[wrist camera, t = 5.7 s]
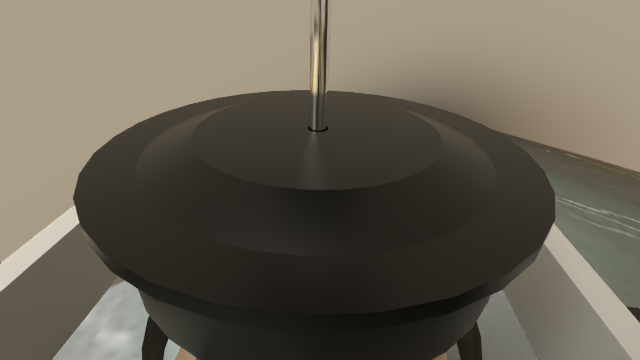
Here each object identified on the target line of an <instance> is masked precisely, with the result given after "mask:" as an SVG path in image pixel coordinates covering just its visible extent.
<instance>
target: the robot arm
mask: <svg viewBox="0 0 640 360" xmlns="http://www.w3.org/2000/svg"><path fill="white" fill-rule="evenodd" d="M117 277H118V276H117V275H116V274H114V273H113V272H111V271H110V270H109V269H108V267H107V266H106V265H105V264H104V263H103V261H102V260H101V259H100V258H99V256H98V255H97V254H96V253H95V251H94V250H93V249H92V248H91V247H90V245H89V244H88V243H87V242H86V240H85V237H84V235H83V232H82V229H81V227H80V223H79V220H78V216H77V212H76V208H75V205H74V206H73V207H71V208H70V209H69V210H67V211H66V212H65V213H64V214H62V215H61V216H60V217H59V218H57V219H56V220H55V221H53V222H52V223H51V224H50V225H48V226H47V227H46V228H45V229H43V230H42V231H41V232H40V233H38V234H37V235H36V236H34V237H33V238H32V239H31V240H29V241H28V242H27V243H26V244H24V245H23V246H22V247H20V248H19V249H18V250H17V251H15V252H14V253H13V254H12V255H10V256H9V257H8V258H7V259H5V260H4V261H3V262H0V360H52V359H53V357H54V356H55V355H56V354H57V352H58V351H59V350H60V349H61V347H62V346H63V345H64V344H65V342H66V341H67V340H68V339H69V337H70V336H71V335H72V334H73V332H74V331H75V330H76V329H77V327H78V326H79V325H80V324H81V322H82V321H83V320H84V319H85V317H86V316H87V315H88V314H89V312H90V311H91V310H92V309H93V307H94V306H95V305H96V304H97V302H98V301H99V300H100V299H101V297H102V296H103V295H104V294H105V292H106V291H107V290H108V289H109V287H110V286H111V285H112V283H113V282H114V281H115V280H116V279H117ZM503 290H504V292H505V294H506V296H507V298H508V300H509V302H510V304H511V306H512V308H513V310H514V312H515V314H516V316H517V318H518V320H519V322H520V324H521V326H522V328H523V330H524V332H525V334H526V336H527V338H528V339H529V341H530V343H531V345H532V347H533V349H534V351H535V353H536V355H537V357H538V359H539V360H640V309H639V308H632V307H626V306H625V305H624V304H623V303H622V302H621V301H620V300H619V298H618V297H617V296H616V295H615V294H614V293H613V291H612V290H611V289H610V288H609V287H608V286H607V285H606V283H605V282H604V281H603V280H602V279H601V278H600V276H599V275H598V274H597V273H596V272H595V271H594V270H593V268H592V267H591V266H590V265H589V264H588V263H587V261H586V260H585V259H584V258H583V257H582V256H581V255H580V253H579V252H578V251H577V250H576V249H575V248H574V246H573V245H572V244H571V243H570V242H569V241H568V240H567V238H566V237H565V236H564V235H563V234H562V233H561V231H560V230H559V229H558V228H557V227H556V226H555V224H554V223H553V225H552V227H551V230H550V232H549V234H548V236H547V238H546V240H545V242H544V244H543V246H542V248H541V250H540V252H539V254H538V256H537V258H536V260H535V262H533V263H532V264H531V265H530V266H529V267H528V268H526V269H525V270H524V271H523V272H522V273H521V274H520V275H518V276H517V277H516V278H515V279H514V280H513V281H512V282H510V283H509V284H508V285H507V286H506V287H505V288H503Z"/></svg>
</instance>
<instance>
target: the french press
mask: <svg viewBox="0 0 640 360" xmlns="http://www.w3.org/2000/svg"><path fill="white" fill-rule="evenodd" d="M330 13H331V0H311V27H310V28H311V29H310V30H311V31H310V36H311V37H310V90H292V91H270V92H260V93H249V94H241V95H235V96H228V97H222V98H216V99H211V100H207V101H203V102H198V103H194V104H190V105H186V106H183V107H180V108H177V109H173V110H170V111H167V112H164V113H161V114H159V115H156V116H154V117H151V118H149V119H147V120H144V121H142V122H139V123H137V124H136V125H134V126H132V127H130V128H129V129H127V130H125V131H124V132H122V133H120V134H118V135H116V136H114V137H113V138H112V139H111V140H110V141H108V142H107V143H106V144H105V145H104V146H102V147H101V148H100V149H99V150H97V151H96V152H95V153H94V154H93V155H92V157H91V158H90V160H89V161H88V162H87V164H86V165H85V166H84V168H83V169H82V171H81V172H80V174H79V177H78V181H77V185H76V189H75V193H74V196H73V200H74V204H75V208H76V212H77V216H78V220H79V223H80V227H81V229H82V232H83V235H84V237H85V240H86V242H87V243H88V244H89V245H90V247H91V248H92V249H93V250H94V251H95V253H96V254H97V255H98V256H99V258H100V259H101V260H102V261H103V263H104V264H105V265H106V266H107V267H108V269H109V270H110V271H111V272H113V273H114V274H116V275H117V276H119V277H121V278H122V279H124V280H125V281H127V282H128V283H130V284H132V285H133V286H135V287H136V288H138V291H139V293H140V296H141V298H142V301H143V304H144V306H145V309H146V311H147V313H148V314H149V315H150V316H149V318H148V321H147V326H146V331H145V336H144V341H143V345H142V360H163V357H164V350H165V347H166V344H167V341H168V338H169V339H170V340H172V341H173V342H174V343H176V344H177V345H179V346H180V347H182V348H183V349H185V350H186V351H188V352H189V353H190V354H192V355H193V356H195V357H196V358H198V359H199V360H432V359H434V358H436V357H438V356H440V355H442V354H444V353H445V352H446V351H447V350H448V349H450V348H451V347H452V346H453V345H454V344H455V343H456V342H457V345H458V349H459V354H460V358H461V360H482V350H481V336H480V333H479V329H478V326H477V323H476V321H477V319H478V317H479V316H480V314H481V312H482V311H483V309H484V307H485V306H486V304H487V302H488V300H489V297H490V295H492V294H494V293H496V292H498V291H500V290H502V289H503V288H505V287H506V286H507V285H508V284H509V283H510V282H512V281H513V280H514V279H515V278H516V277H517V276H518V275H520V274H521V273H522V272H523V271H524V270H525V269H526V268H528V267H529V266H530V265H531V264H532V263H533V262H535V260H536V258H537V256H538V254H539V252H540V250H541V248H542V246H543V244H544V242H545V240H546V238H547V236H548V234H549V232H550V230H551V227H552V225H553V223H554V220H555V193H554V191H553V189H552V186H551V184H550V182H549V180H548V178H547V176H546V174H545V172H544V170H543V169H542V168H541V167H540V166H539V165H538V164H537V163H536V162H535V161H534V160H533V159H532V157H531V156H530V155H529V154H528V153H527V152H526V151H524V150H523V149H521V148H520V147H519V146H517V145H516V144H515V143H513V142H512V141H510V140H509V139H508V138H506V137H505V136H503V135H501V134H499V133H497V132H495V131H493V130H492V129H489V128H488V127H486V126H484V125H482V124H480V123H477V122H475V121H472V120H470V119H467V118H465V117H462V116H460V115H458V114H455V113H451V112H448V111H445V110H442V109H439V108H435V107H432V106H429V105H424V104H420V103H416V102H412V101H407V100H403V99H396V98H391V97H385V96H379V95H371V94H363V93H354V92H340V91H328V70H329V69H328V68H329V42H330V41H329V40H330Z"/></svg>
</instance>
